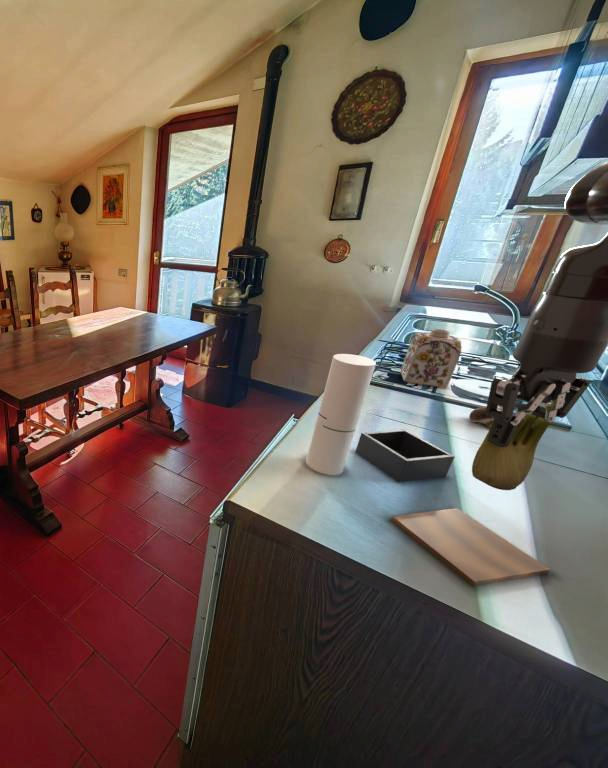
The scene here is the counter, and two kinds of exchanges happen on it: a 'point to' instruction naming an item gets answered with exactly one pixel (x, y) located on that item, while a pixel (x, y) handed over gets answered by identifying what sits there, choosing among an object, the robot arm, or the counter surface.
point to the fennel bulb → (509, 455)
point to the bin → (404, 455)
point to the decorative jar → (431, 358)
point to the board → (469, 546)
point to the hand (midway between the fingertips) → (511, 442)
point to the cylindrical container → (339, 412)
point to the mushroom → (481, 416)
